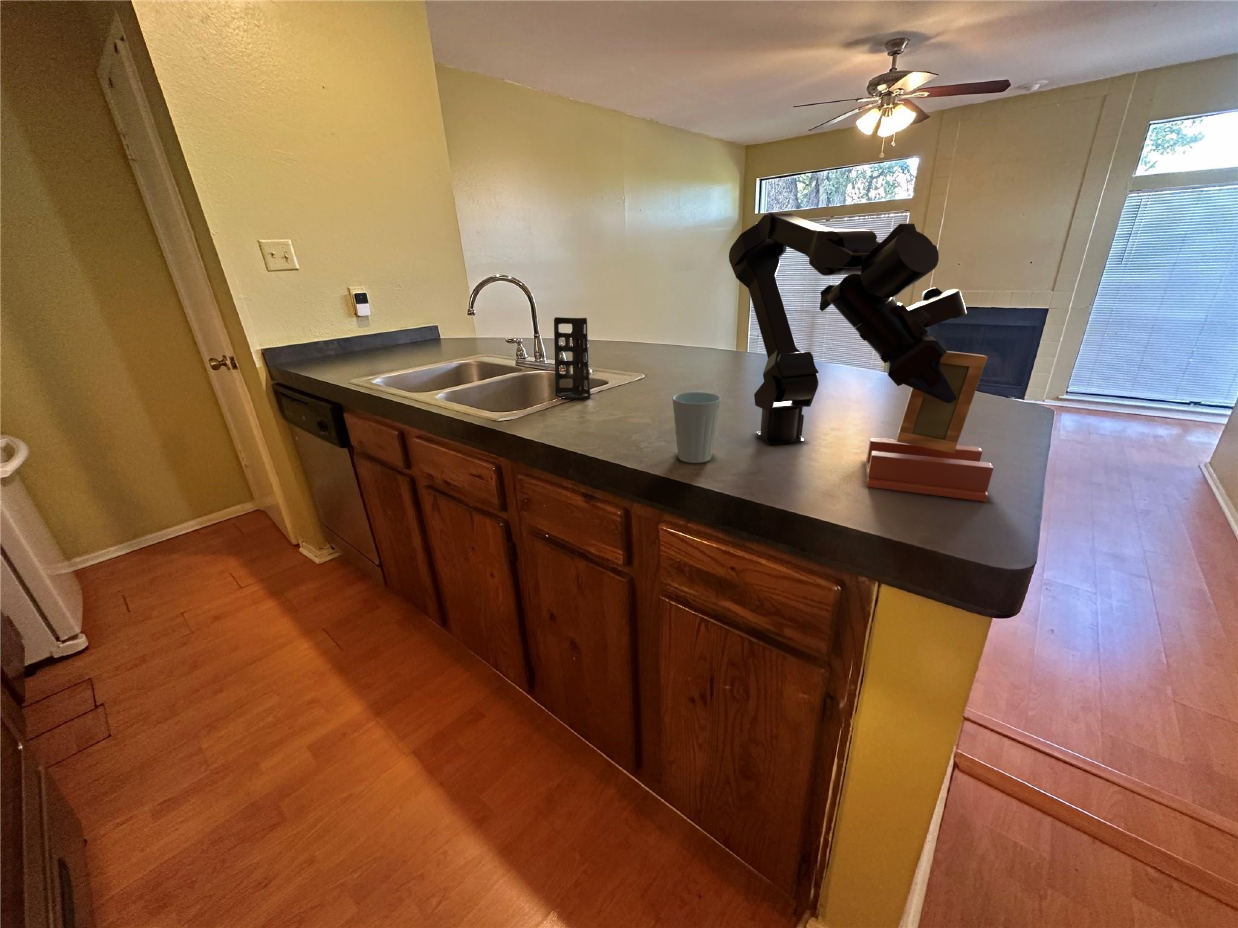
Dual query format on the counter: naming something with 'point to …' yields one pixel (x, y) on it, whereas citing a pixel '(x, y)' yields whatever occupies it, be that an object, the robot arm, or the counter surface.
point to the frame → (942, 405)
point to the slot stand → (928, 470)
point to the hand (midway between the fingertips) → (950, 397)
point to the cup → (695, 425)
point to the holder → (577, 362)
